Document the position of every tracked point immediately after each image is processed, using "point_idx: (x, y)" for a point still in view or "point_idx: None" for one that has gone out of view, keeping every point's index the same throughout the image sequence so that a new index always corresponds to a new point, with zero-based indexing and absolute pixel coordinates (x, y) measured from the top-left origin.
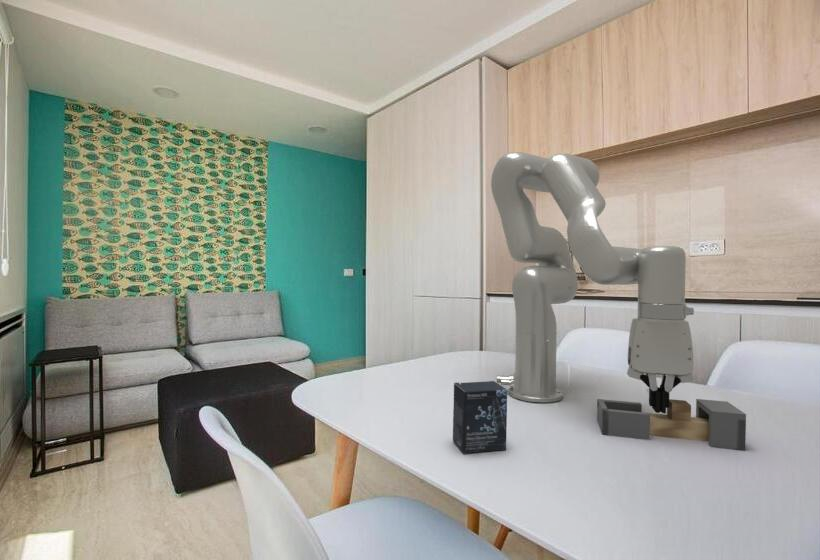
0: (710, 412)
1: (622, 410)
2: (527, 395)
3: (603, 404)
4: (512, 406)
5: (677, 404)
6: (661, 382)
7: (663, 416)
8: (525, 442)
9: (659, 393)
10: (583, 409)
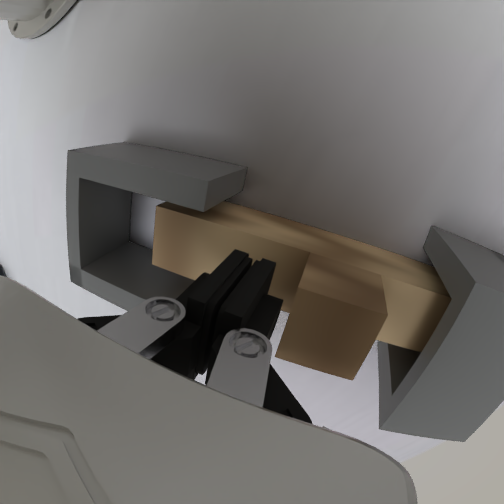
0: (385, 414)
1: (114, 287)
2: (20, 25)
3: (74, 220)
4: (5, 86)
5: (297, 363)
6: (218, 354)
7: (280, 273)
8: (26, 283)
9: (196, 373)
10: (121, 33)
